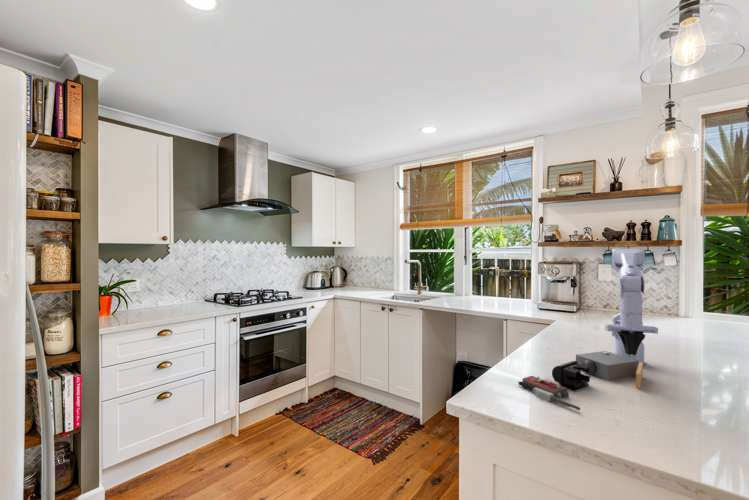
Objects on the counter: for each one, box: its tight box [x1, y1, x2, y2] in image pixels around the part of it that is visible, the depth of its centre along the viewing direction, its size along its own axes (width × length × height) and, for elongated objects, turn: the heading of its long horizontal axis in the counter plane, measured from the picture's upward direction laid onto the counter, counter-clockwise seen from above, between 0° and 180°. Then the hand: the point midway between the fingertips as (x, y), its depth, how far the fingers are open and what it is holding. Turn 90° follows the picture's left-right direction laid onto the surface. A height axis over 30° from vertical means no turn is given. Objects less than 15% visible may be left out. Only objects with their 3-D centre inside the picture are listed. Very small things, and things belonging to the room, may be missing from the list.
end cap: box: [551, 360, 591, 392], centre depth 111 cm, size 10×7×7 cm
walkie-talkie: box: [518, 375, 581, 411], centre depth 102 cm, size 9×4×20 cm
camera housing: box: [575, 350, 639, 381], centre depth 123 cm, size 17×12×6 cm
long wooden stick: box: [635, 362, 644, 389], centre depth 113 cm, size 14×1×4 cm, turn 139°
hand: (630, 354), depth 113 cm, fingers closed
